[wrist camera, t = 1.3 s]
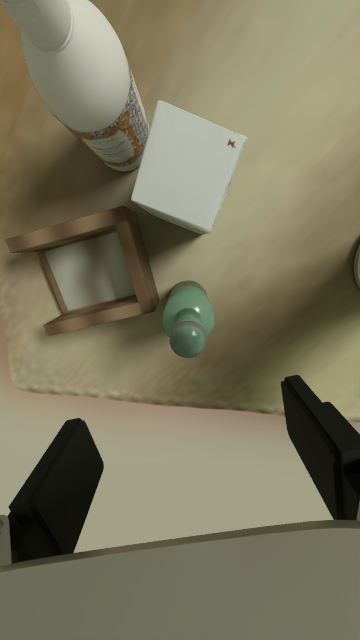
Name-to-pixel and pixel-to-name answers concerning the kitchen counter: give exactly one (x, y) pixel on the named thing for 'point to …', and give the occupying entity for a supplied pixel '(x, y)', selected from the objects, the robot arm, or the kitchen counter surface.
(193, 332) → the green bottle
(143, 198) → the supplement box
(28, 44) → the bath foam
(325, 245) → the kitchen counter surface
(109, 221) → the walnut U-rest
